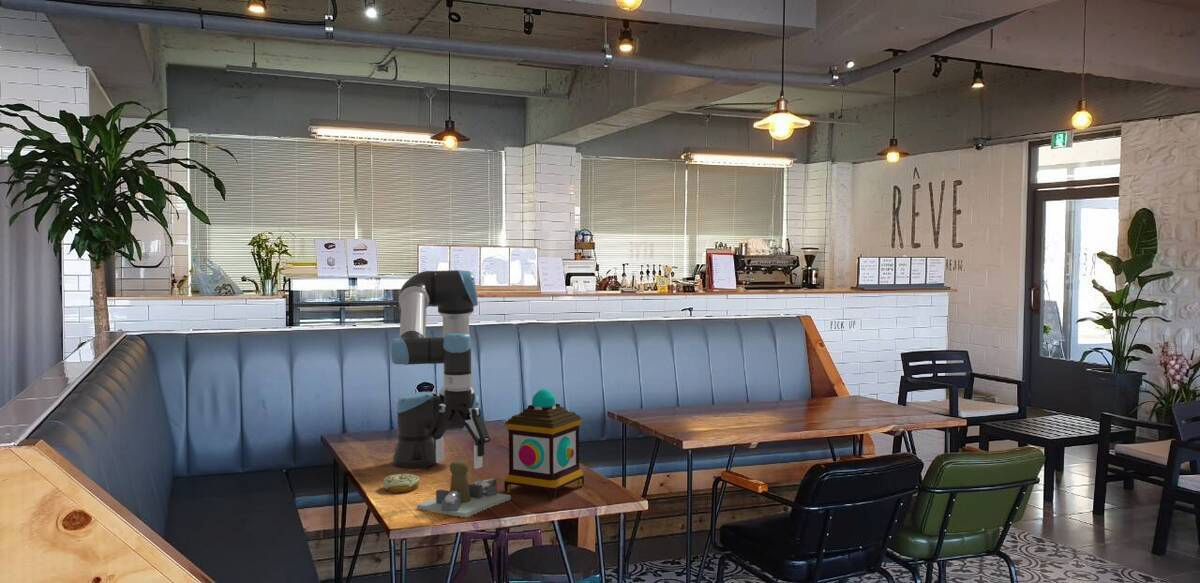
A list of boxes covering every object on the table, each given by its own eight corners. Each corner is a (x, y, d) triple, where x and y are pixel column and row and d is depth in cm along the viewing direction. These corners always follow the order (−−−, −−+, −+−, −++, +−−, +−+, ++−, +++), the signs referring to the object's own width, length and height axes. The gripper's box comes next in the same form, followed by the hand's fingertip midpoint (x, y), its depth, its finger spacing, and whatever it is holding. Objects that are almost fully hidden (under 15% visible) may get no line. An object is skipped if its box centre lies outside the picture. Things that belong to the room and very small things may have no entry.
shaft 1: (446, 505, 241) (446, 490, 241) (462, 505, 241) (462, 490, 241) (441, 510, 236) (441, 495, 236) (457, 511, 236) (457, 495, 236)
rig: (417, 508, 243) (416, 491, 242) (463, 491, 260) (463, 475, 259) (465, 517, 234) (465, 500, 234) (510, 499, 251) (510, 483, 251)
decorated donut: (380, 494, 258) (380, 481, 258) (386, 484, 269) (386, 472, 268) (416, 493, 259) (416, 480, 258) (421, 484, 269) (421, 471, 269)
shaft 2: (480, 498, 248) (480, 483, 248) (472, 495, 252) (471, 480, 251) (498, 494, 252) (498, 479, 252) (489, 491, 255) (489, 476, 255)
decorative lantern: (555, 502, 248) (554, 396, 246) (497, 493, 257) (496, 391, 256) (590, 485, 265) (589, 386, 264) (535, 477, 275) (534, 382, 274)
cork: (445, 499, 248) (445, 460, 247) (466, 496, 250) (466, 457, 250) (452, 504, 242) (452, 464, 242) (473, 501, 245) (473, 462, 244)
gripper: (414, 387, 248) (415, 462, 249) (485, 394, 235) (486, 473, 237) (432, 383, 255) (433, 456, 256) (502, 390, 242) (503, 467, 243)
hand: (459, 464), depth 246 cm, fingers open, 13 cm apart
